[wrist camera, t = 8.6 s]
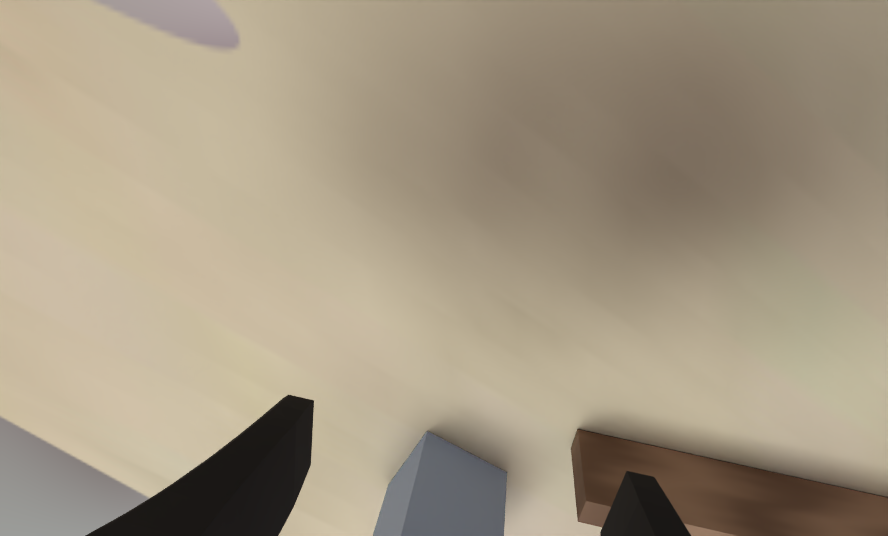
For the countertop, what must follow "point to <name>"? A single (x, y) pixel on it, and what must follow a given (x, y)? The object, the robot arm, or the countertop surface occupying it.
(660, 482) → the walnut bay
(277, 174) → the countertop surface
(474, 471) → the blue block
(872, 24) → the countertop surface
